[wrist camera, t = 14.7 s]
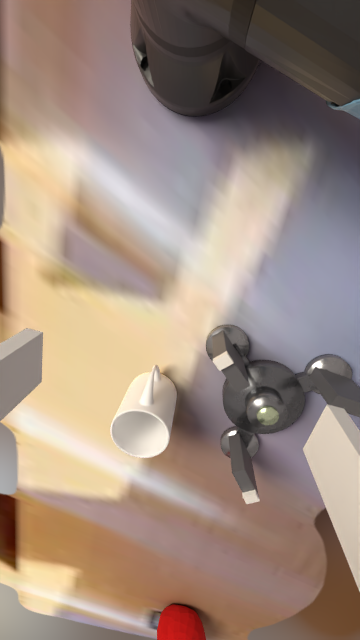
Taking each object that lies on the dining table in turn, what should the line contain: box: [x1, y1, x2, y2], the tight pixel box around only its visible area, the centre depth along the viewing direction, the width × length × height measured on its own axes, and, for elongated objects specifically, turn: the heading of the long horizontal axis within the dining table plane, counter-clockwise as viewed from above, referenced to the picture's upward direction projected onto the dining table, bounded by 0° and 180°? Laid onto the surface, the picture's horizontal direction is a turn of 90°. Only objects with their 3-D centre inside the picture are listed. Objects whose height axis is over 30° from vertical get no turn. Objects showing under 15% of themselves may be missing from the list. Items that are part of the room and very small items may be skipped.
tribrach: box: [206, 325, 352, 458], centre depth 43 cm, size 25×24×6 cm
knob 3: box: [309, 367, 360, 417], centre depth 38 cm, size 6×2×8 cm, turn 72°
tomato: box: [157, 604, 206, 640], centre depth 64 cm, size 11×13×10 cm
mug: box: [110, 365, 177, 458], centre depth 42 cm, size 9×12×11 cm
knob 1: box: [212, 330, 250, 392], centre depth 38 cm, size 6×2×8 cm, turn 35°
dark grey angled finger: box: [228, 433, 260, 504], centre depth 44 cm, size 6×2×8 cm, turn 26°
